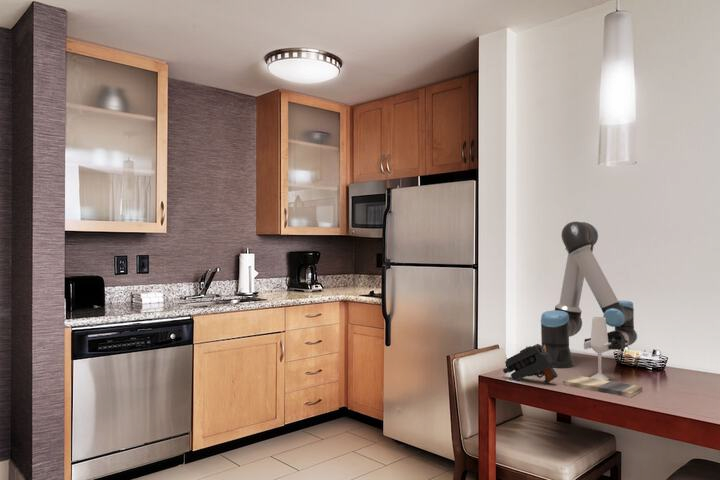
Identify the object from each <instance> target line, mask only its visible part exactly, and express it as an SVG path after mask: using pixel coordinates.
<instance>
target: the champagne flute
mask: <svg viewBox="0 0 720 480" xmlns="http://www.w3.org/2000/svg"><path fill="white" fill-rule="evenodd" d="M591 321H592V323H591V331H590V338H591V342H590V346H591V349H592V350H593V351H594V352H595V353H596V354H597V373H595V374H594V375H592V376H590V378H595V379H601V380H607V381H610V378H609V377H608V376H606V375H605V374H603V373H602V354H603V353H604V352H603V345H604V344H607V343H608V335H607V333H608V325H607V324H606V318H604V317H601V316H593V317H592V320H591Z"/></svg>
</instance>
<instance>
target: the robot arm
mask: <svg viewBox="0 0 720 480" xmlns="http://www.w3.org/2000/svg"><path fill="white" fill-rule="evenodd" d="M598 239H599V233H598V230H597V228H596V227H595V226H593V224H590V223H589V222H584V221H582V222H581V221H571V222H569V223H568V222H567V223H566V225H565V226H564V227H563V228H562V230H561V240H562V242H563V245H564V246H565V250H566V252H567V257H566V259H567V260H566V263H565V264H566V265H565V270H564V275H563V280H562V287H561V292H560V298H559V302H558V303H557V304H556V305H555V306H554V309H553V310H547V311H544V312H542V313H541V318H540V327H541V328H540V329H541V330H540V331H541V332H540V333H541V336H540V337H541V340H540V341H541V346H542V349H543V347H544V345H545V347H546V352H548V353H549V354H550V356H551V358H552V360H553V365H552V368H563V369H564V368H571V367H574V366H575V364H574V363H575V362H574V361H575V360H574V358H573V355H572V354H573V353H572V352H571V349H570V337H573V336H575V335H577V334H578V333H579V332H580V331H581V330H582V326H583V320H582V312H583V311H582V309H581V308H580V302H581V297H582V292H583V286H584V280H585V281H586V283H587V284H588V285H587V286H589V289H590V290H591V291H590V292H592V294H593V296H594V298H595V300H596V301H597V304H598V305H599V308H600V310H601V312H602V313H603V317H604V318H606V326H609V327H611V328H612V327H613V328H614V329H613V330H611V331H609V332H608V331H607V335H608V343H607V344H604V345H603V353H605V352H609V351H611V350H613V351H616V350H618V351H621V350H623V349H624V348H628V346H631V345H632V344H634V343H635V342H636V341H637V340H638V334H637V332H636V330H635V324H634V317H635V315H634V310H635V309H634V303H633V302H632V301H630V300H618V299H619V298H617V296H616V294H615V292H614V291H613V289H612V287H611V285H610V283H609V281H608V279H607V277H606V275H605V274H604V271H603V270H602V268H601V265H600V264H599V262H598V261H597V258H596V257H595V255H594V253H593V252H594V251H593V250H594V245H596V243H597V242H598V241H599V240H598ZM590 342H591V337H590V338H585V339H584V342H583V350H587V349H592V347H591V346H590Z"/></svg>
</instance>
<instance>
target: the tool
mask: <svg viewBox="0 0 720 480" xmlns="http://www.w3.org/2000/svg"><path fill="white" fill-rule="evenodd" d="M530 346H531V345H529V346H526V347H527V348H526V347H525V348H523V349H521V350H519V352H518V353H516V354H514V355H512V356H510V357H509V358H507V359H506V360H505V368H503V369H502V372H503V373H504V374H507V373H509V374H510V373H511V372H512V373H511V374H510V377H511V378H512V380H513V381H515V380H516V381H518V380H520V379H523V378H526V377H529V376H528V375H531V374H533V373H535V374H536V375H535V376H536V377H537V378H542V377H544V380H542V382H543V383H544V385H547V384H549V383H550V382H551V381H554V379H557V377H558V376H559V375H558V373H557V372H556V370H555V369H554V367H552V365H553V360H552V358H551V356H550V354H549V353H548V352H545V351H542V350H543V349H542V344H539V343H537V344H535V345H532V346H531V347H530ZM538 371H539V372H541V374H543V373H544V375H538V374H537V372H538Z"/></svg>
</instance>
